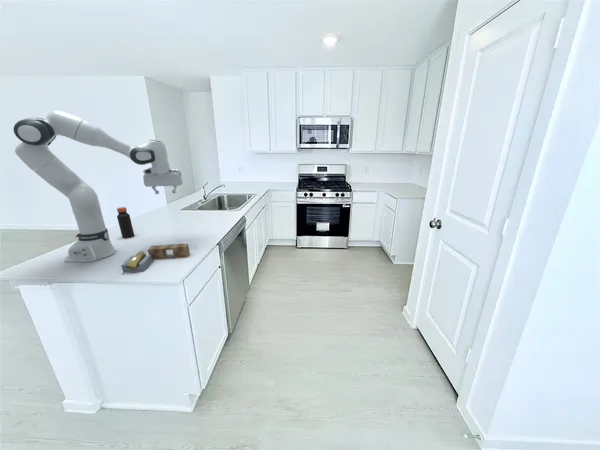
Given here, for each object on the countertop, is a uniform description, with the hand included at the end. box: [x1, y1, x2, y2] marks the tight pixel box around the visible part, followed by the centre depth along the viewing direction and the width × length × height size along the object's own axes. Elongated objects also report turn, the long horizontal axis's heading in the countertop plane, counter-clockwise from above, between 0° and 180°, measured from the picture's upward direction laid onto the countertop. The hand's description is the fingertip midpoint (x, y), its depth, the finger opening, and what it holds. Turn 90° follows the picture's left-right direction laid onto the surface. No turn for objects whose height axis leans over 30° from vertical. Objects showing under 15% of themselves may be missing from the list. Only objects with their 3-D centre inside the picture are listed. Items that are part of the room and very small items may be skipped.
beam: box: [147, 242, 190, 261], centre depth 134 cm, size 19×5×6 cm, turn 100°
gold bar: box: [126, 250, 147, 269], centre depth 122 cm, size 12×4×4 cm, turn 10°
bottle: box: [116, 206, 135, 239], centre depth 161 cm, size 7×7×20 cm
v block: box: [121, 254, 153, 274], centre depth 123 cm, size 10×10×4 cm
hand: (165, 193), depth 145 cm, fingers open, 8 cm apart
